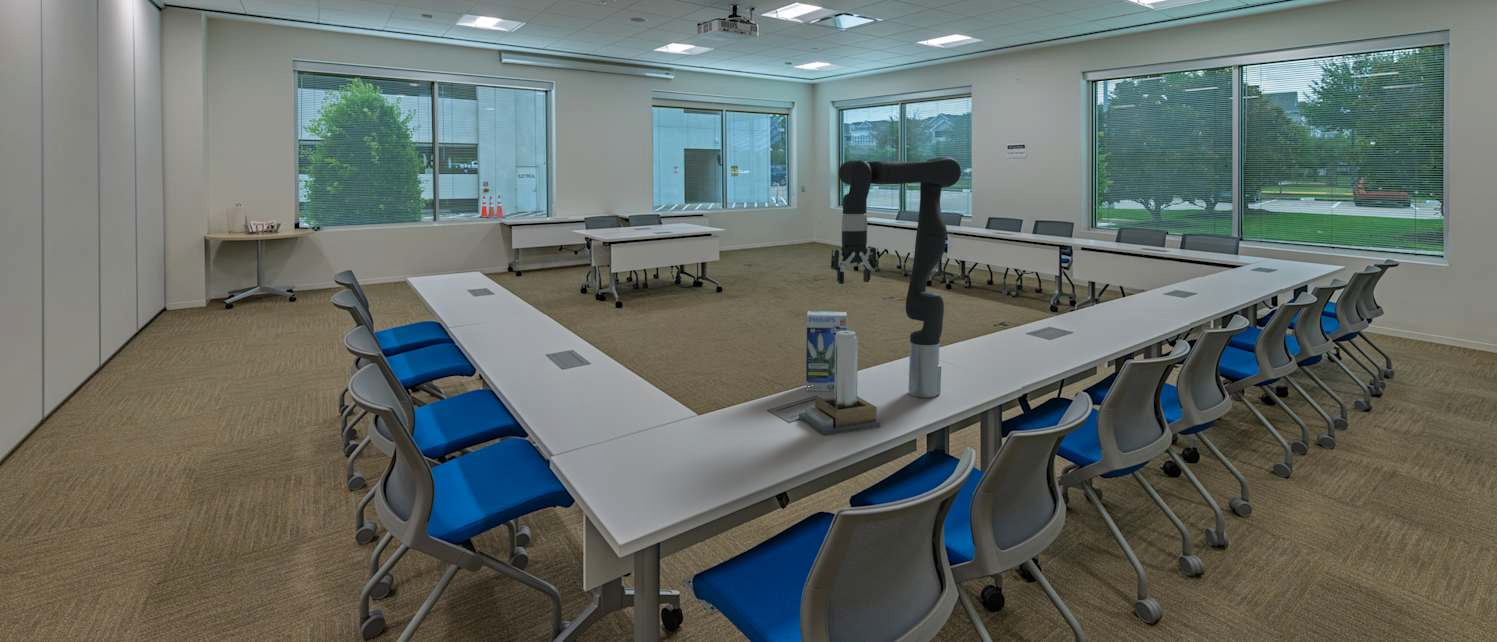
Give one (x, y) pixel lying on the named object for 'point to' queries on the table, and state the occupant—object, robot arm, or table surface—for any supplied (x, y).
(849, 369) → the white tall cylinder
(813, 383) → the string lights box
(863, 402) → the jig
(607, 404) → the table surface
